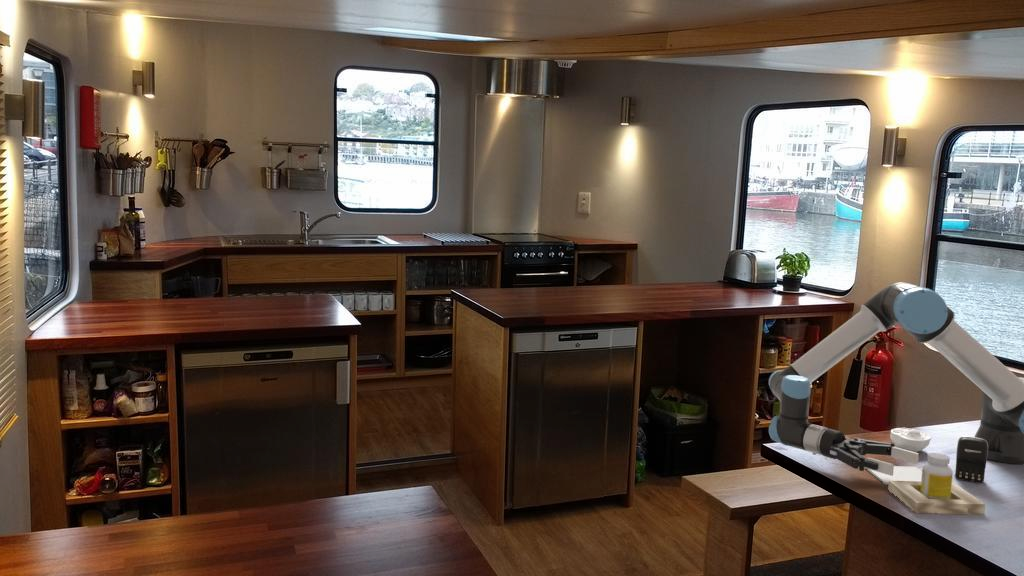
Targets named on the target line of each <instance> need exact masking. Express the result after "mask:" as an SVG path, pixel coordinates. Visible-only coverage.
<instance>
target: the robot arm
mask: <svg viewBox="0 0 1024 576" xmlns="http://www.w3.org/2000/svg"><path fill="white" fill-rule="evenodd" d="M955 318H956V316H955V312H954V311H953V310H952V309H951V308H950V307H949V306H948V305H947V304H946V301H945V300H944V298H943V297H942V296H941V295H940V294H939V293H937V292H936V291H934V290H933V289H931V288H928V287H925V286H919V285H916V284H914V283H910V282H906V281H905V282H904V281H899V282H894V283H892V284H890V285H887V286H885V287H884V288H882V289H881V290H880V291H879V292H877V293H876V294H874V295H873V296H872V297H870V298H869V299H868V300H867V301H866V302H864V303H863V304H861V306H860V311H859V312H857V313H856V314H855V315H853V316H851V318H849V319H848V320H846V322H844V323H843V324H842V325H840V326H839V327H838V328H836V329H835V330H834V331H833V332H831V333H830V334H829V335H827V336H826V337H825V338H824V339H822V340H821V341H819V343H817V344H815V346H813V347H812V348H811V349H809V350H808V351H807V352H806V353H804V354H803V355H802V356H800V357H799V358H798V359H796V360H795V361H794V362H793V363H791V364H790V365H788V366H787V367H785V368H784V369H779V370H775V371H774V372H773V373H771V375H770V376H769V378H768V386H769V389H770V390H771V393H772V394H773V396H775V397H776V398H777V399H778V400H779V402H780V404H779V407H780V408H779V414H778V415H775V416H773V418H772V419H771V420H770V424H769V426H768V434H769V437H770V439H771V440H772V441H774V442H776V443H779V444H782V445H784V446H788V447H792V448H795V449H799V450H802V451H803V450H804V451H806V452H809V453H812V455H818V456H823V457H826V458H829V459H832V460H837V461H839V462H842V463H844V464H845V465H847V466H849V467H851V468H852V469H855V470H857V469H858V470H859V471H862V472H864V471H865V468H864V467H866V468H867V469H870V470H874V471H877V472H880V473H884V474H887V475H891V476H892V475H893V469H894V466H895V464H894V463H891V462H886V461H882V460H879V459H877V458H873V457H868V456H867V457H866V458H865V456H866V455H878V456H880V455H881V456H890V457H891V458H893V459H897V460H901V461H904V462H908V463H911V464H915V465H918V464H919V456H920V455H919V454H920V453H919V452H912V451H908V450H904V449H901V448H898V447H897V446H896V444H895V443H894V442H886V441H877V440H871V439H870V440H869V439H863V438H859V437H854V438H853V439H847V438H846V436H845V434H844V432H842V431H840V430H836V429H833V428H828V427H825V426H821V425H818V424H813V423H810V422H809V411H810V400H811V392H812V390H811V383H813V382H814V381H816V380H817V379H818V378H819V377H821V376H822V375H823V374H825V373H826V372H828V371H829V370H830V369H831V368H833V367H834V366H836V365H837V364H838V363H839V362H841V361H842V360H843V359H845V358H846V357H847V356H849V355H850V354H852V352H854V351H856V350H857V349H858V348H859V347H860V346H862V345H863V344H864V343H866V342H867V341H868V340H870V339H871V338H873V337H874V336H875V335H877V334H878V333H879V332H887V331H888V330H890V329H891V328H892V327H895V326H896V325H899V326H900V327H902V329H903V330H905V331H906V332H907V333H908V334H909V335H911V337H913V338H914V339H915V340H917V342H919V343H920V344H929V345H931V346H932V347H933V348H934V349H935V350H936V351H937V352H938V353H940V354H941V355H942V356H943V357H944V358H945V359H946V360H947V361H948V362H950V363H951V365H953V366H954V367H955V368H956V369H958V370H959V371H960V372H961V373H962V374H963V375H964V376H966V378H967V379H969V380H970V381H971V382H972V383H973V384H974V385H976V387H978V388H979V389H980V390H981V391H982V392H983V393H982V404H981V414H980V415H981V416H980V424H979V427H978V428H977V431H976V433H975V435H974V437H976V438H981V439H984V440H986V441H987V443H988V455H987V460H990V461H995V462H1000V463H1005V464H1015V465H1016V464H1018V465H1020V464H1022V465H1023V464H1024V377H1021V376H1017V375H1016V374H1015V373H1013V371H1012V370H1010V368H1008V367H1007V366H1006V365H1004V364H1003V363H1002V362H1001V361H1000V359H998V358H997V357H995V355H993V353H991V352H990V351H989V350H988V349H987V348H985V346H983V345H982V344H981V343H980V342H979V341H978V340H977V339H975V338H974V336H972V335H971V334H970V333H969V332H967V331H966V330H965V329H964V328H963V327H962V326H961V325H960V324H959V323H958V322H957V321H955Z"/></svg>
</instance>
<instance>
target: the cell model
mask: <svg viewBox="0 0 1024 576" xmlns="http://www.w3.org/2000/svg"><path fill="white" fill-rule="evenodd" d="M889 437H890V439H891V440H892V443H894V444H895V447H897V448H901V449H904V450H908V451H912V452H916V453H919V452H920V451H923V450H924V449H926V448H927V447H928V446H929V445H930V442H931V440H932V439H933V438H932V437H931V435H930V434H929V433H926V432H924V431H921V430H918V429H913V428H907V427H896V428H892V429H891V430H890V436H889Z"/></svg>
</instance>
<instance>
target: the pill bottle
mask: <svg viewBox="0 0 1024 576" xmlns="http://www.w3.org/2000/svg"><path fill="white" fill-rule="evenodd" d="M950 460H951V459H950V456H949V455H946V454H943V453H939V452H930V453H928V454H927V461H928V462H926V463H925V464H923V465H922V468H921V471H922V479H921V491H920V493H921V494H923V495H924V496H925V497H927V498H928V499H950V496H951V485H952V482H953V473H954V472H953V469H952V468H951V467H950V466H949V464H950Z"/></svg>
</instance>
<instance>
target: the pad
mask: <svg viewBox="0 0 1024 576" xmlns="http://www.w3.org/2000/svg"><path fill="white" fill-rule="evenodd" d="M866 469H867V468H866V467H864V470H866ZM866 471H868V472H869V473H870V474H872V475H873V477H875V478H876V479H878V481H880V482H881V481H882V482H883V483H882V482H881V483H882V484H883V485H889V481H921V479H922V469H920V468H919V467H917V466H904V465H903V466H901V465H900V466H896V465H894V469H893V475H892V476H891V475H887V474H884V473H880V472H877V471H874V470H870V469H867V470H866Z"/></svg>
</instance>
